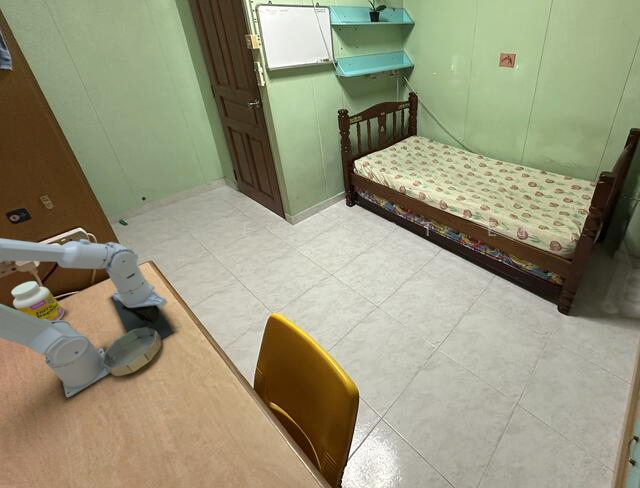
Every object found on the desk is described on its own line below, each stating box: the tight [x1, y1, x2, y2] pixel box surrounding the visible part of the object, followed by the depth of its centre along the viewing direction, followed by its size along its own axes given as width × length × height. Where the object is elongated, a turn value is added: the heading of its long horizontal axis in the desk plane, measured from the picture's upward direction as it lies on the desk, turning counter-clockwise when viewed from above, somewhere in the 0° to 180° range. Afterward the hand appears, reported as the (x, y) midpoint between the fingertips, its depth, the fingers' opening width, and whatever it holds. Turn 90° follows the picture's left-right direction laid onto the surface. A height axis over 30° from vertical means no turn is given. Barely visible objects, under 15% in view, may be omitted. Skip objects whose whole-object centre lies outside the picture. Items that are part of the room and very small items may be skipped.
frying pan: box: [101, 317, 162, 377], centre depth 82 cm, size 19×11×4 cm, turn 14°
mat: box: [110, 295, 175, 342], centre depth 91 cm, size 28×8×1 cm, turn 50°
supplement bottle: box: [10, 280, 65, 321], centre depth 86 cm, size 7×7×13 cm
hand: (151, 319), depth 87 cm, fingers closed on frying pan, 2 cm apart
